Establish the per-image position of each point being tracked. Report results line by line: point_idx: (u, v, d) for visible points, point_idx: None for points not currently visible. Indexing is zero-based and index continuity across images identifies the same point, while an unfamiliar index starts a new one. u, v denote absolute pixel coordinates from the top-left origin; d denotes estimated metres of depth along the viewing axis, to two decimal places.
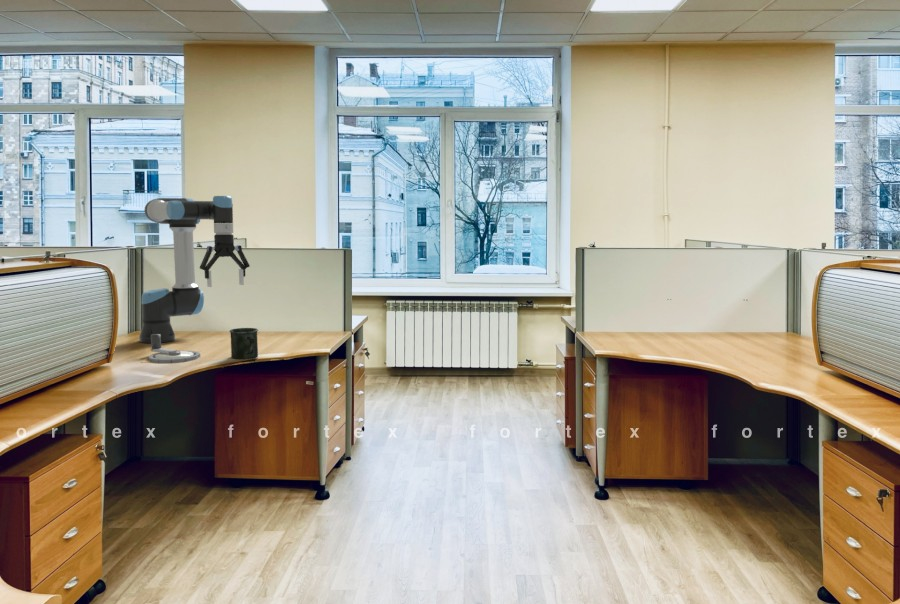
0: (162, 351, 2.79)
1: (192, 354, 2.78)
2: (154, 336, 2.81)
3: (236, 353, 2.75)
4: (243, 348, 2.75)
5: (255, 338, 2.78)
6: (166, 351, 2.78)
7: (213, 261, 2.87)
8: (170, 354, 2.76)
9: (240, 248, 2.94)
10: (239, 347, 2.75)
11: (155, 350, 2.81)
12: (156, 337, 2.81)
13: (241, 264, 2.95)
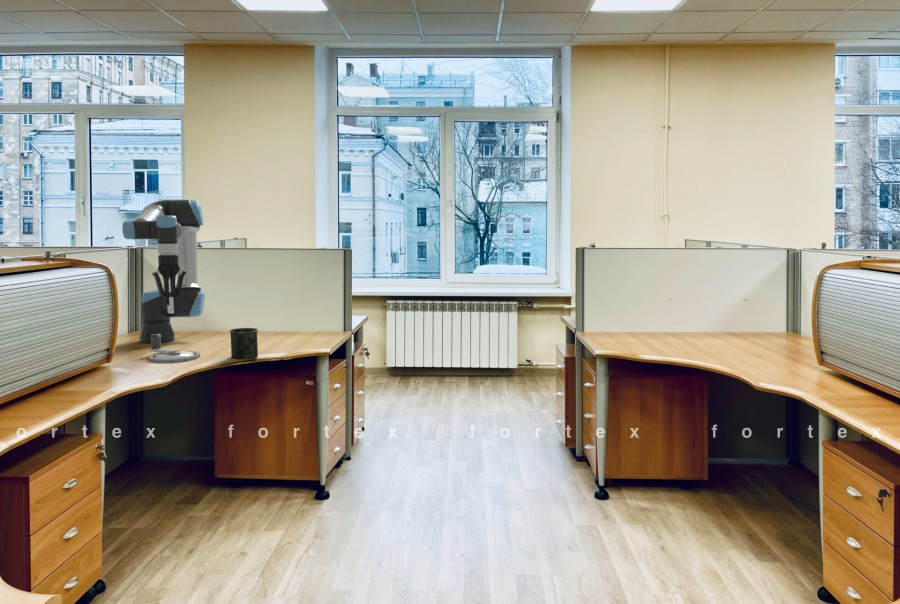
0: (162, 351, 2.79)
1: (192, 354, 2.78)
2: (154, 336, 2.81)
3: (236, 353, 2.75)
4: (243, 348, 2.75)
5: (255, 338, 2.78)
6: (166, 351, 2.78)
7: None
8: (170, 354, 2.76)
9: None
10: (239, 347, 2.75)
11: (155, 350, 2.81)
12: (156, 337, 2.81)
13: None
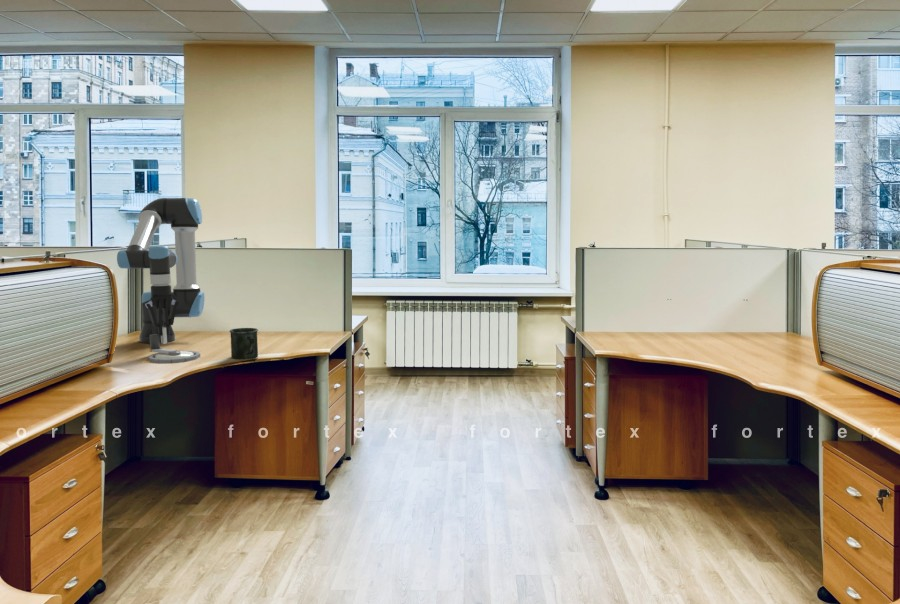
0: (161, 351, 2.79)
1: (192, 354, 2.78)
2: (153, 336, 2.80)
3: (236, 353, 2.75)
4: (243, 348, 2.75)
5: (255, 338, 2.78)
6: (166, 351, 2.78)
7: None
8: (170, 354, 2.76)
9: None
10: (239, 347, 2.75)
11: (154, 350, 2.81)
12: (155, 337, 2.80)
13: None
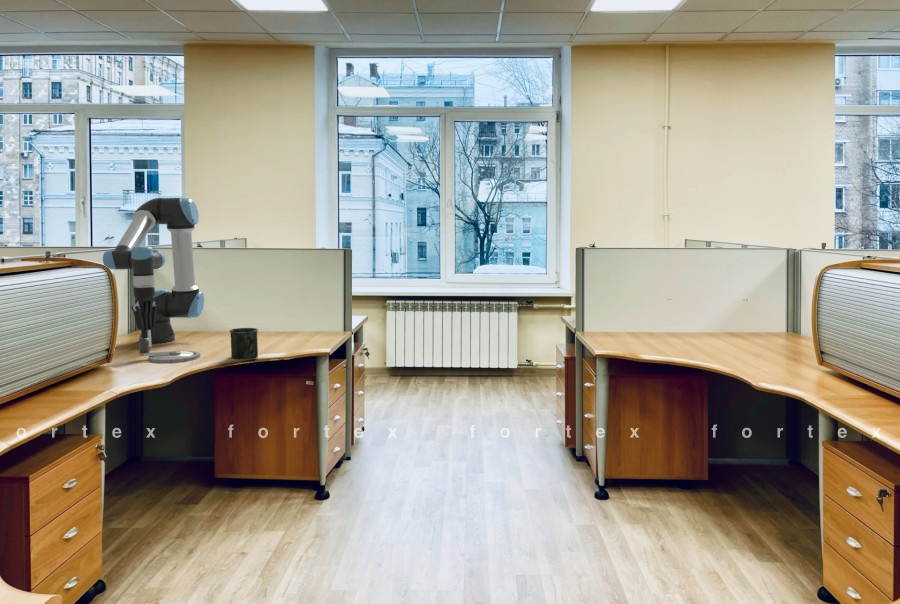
0: (158, 353, 2.75)
1: (191, 352, 2.83)
2: (146, 339, 2.73)
3: (236, 353, 2.75)
4: (243, 348, 2.75)
5: (255, 338, 2.78)
6: (165, 352, 2.75)
7: None
8: (175, 354, 2.76)
9: None
10: (239, 347, 2.75)
11: (147, 354, 2.73)
12: (147, 340, 2.73)
13: None
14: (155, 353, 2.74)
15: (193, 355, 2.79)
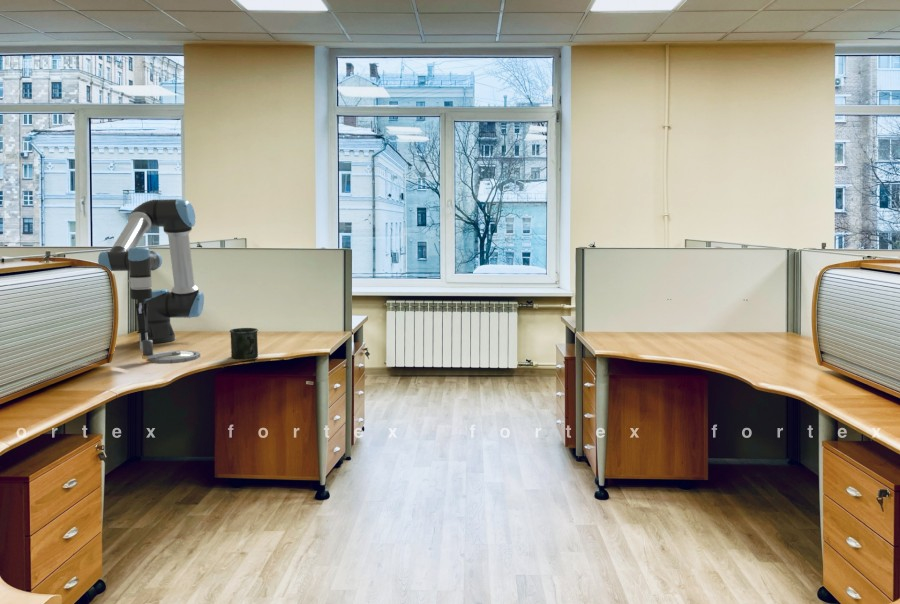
0: (162, 354, 2.73)
1: (183, 351, 2.85)
2: (152, 341, 2.69)
3: (236, 353, 2.75)
4: (243, 348, 2.75)
5: (255, 338, 2.78)
6: (168, 353, 2.74)
7: None
8: (178, 354, 2.77)
9: None
10: (239, 347, 2.75)
11: (152, 356, 2.69)
12: (152, 342, 2.69)
13: None
14: (159, 354, 2.72)
15: (191, 353, 2.83)
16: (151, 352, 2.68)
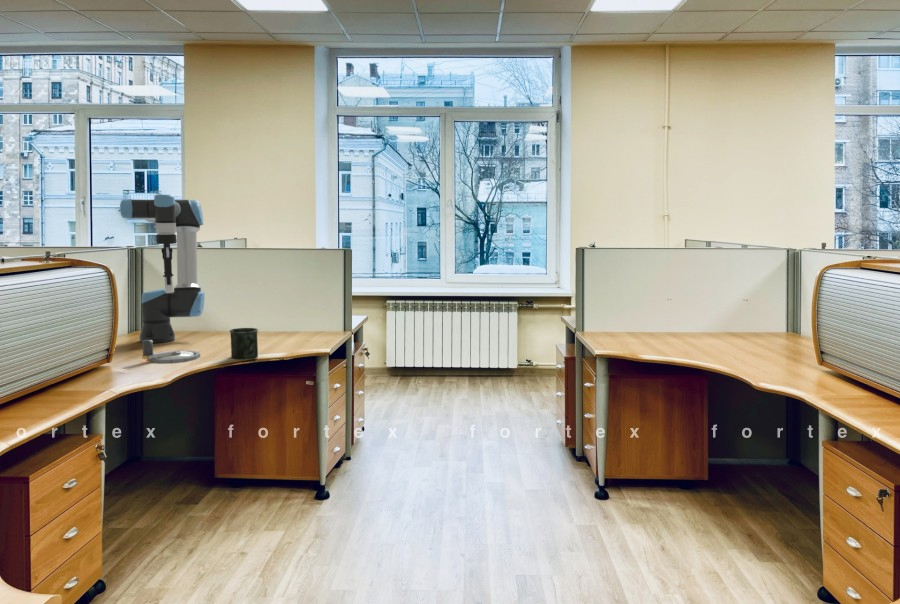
0: (162, 354, 2.73)
1: (183, 351, 2.85)
2: (152, 341, 2.69)
3: (236, 353, 2.75)
4: (243, 348, 2.75)
5: (255, 338, 2.78)
6: (168, 353, 2.74)
7: (164, 265, 2.84)
8: (178, 354, 2.77)
9: (164, 255, 2.77)
10: (239, 347, 2.75)
11: (152, 356, 2.69)
12: (152, 342, 2.69)
13: None
14: (159, 354, 2.72)
15: (191, 353, 2.83)
16: (151, 352, 2.68)
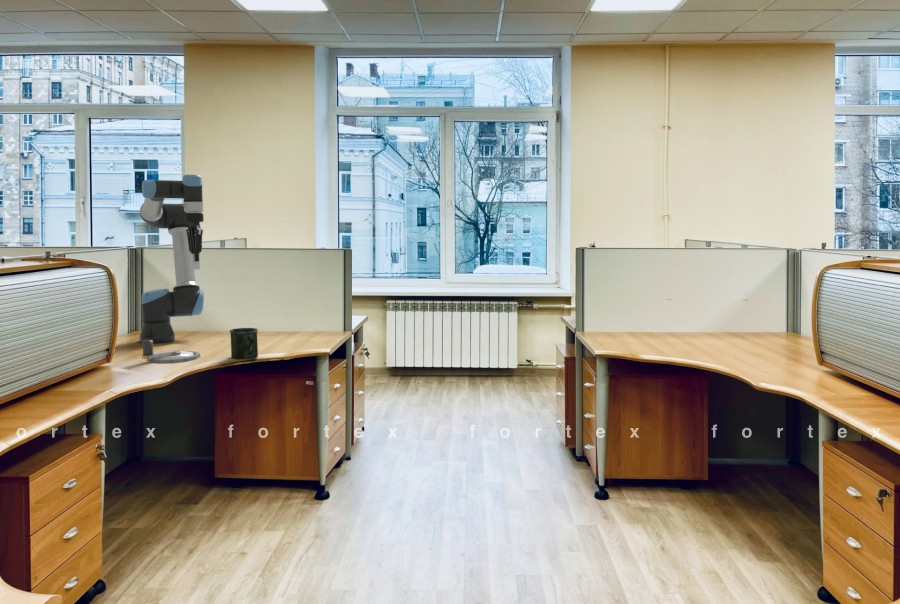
0: (162, 354, 2.73)
1: (183, 351, 2.85)
2: (152, 341, 2.69)
3: (236, 353, 2.75)
4: (243, 348, 2.75)
5: (255, 338, 2.78)
6: (168, 353, 2.74)
7: (190, 242, 2.96)
8: (178, 354, 2.77)
9: (196, 232, 2.90)
10: (239, 347, 2.75)
11: (152, 356, 2.69)
12: (152, 342, 2.69)
13: (193, 248, 2.94)
14: (159, 354, 2.72)
15: (191, 353, 2.83)
16: (151, 352, 2.68)
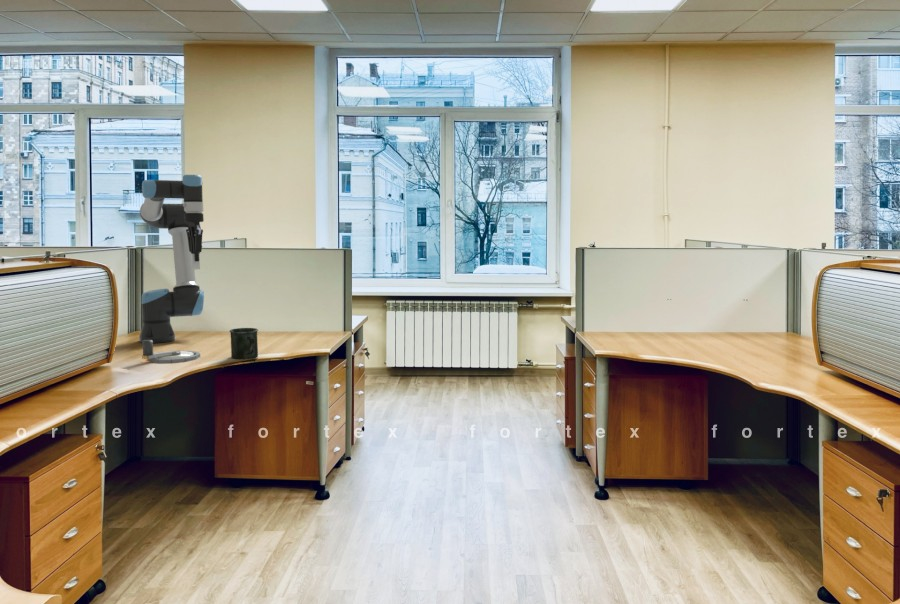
0: (162, 354, 2.73)
1: (183, 351, 2.85)
2: (152, 341, 2.69)
3: (236, 353, 2.75)
4: (243, 348, 2.75)
5: (255, 338, 2.78)
6: (168, 353, 2.74)
7: (190, 242, 2.96)
8: (178, 354, 2.77)
9: (196, 232, 2.91)
10: (239, 347, 2.75)
11: (152, 356, 2.69)
12: (152, 342, 2.69)
13: (193, 247, 2.94)
14: (159, 354, 2.72)
15: (191, 353, 2.83)
16: (151, 352, 2.68)
